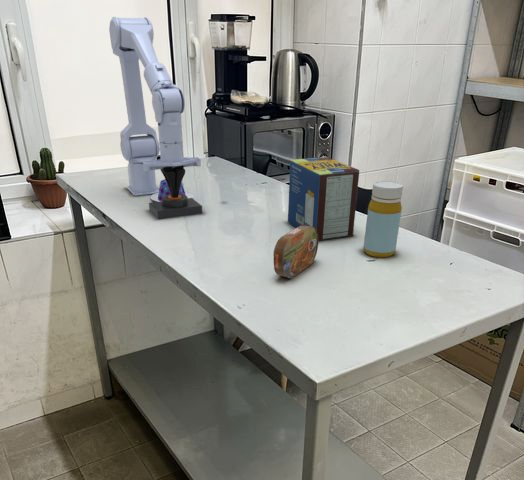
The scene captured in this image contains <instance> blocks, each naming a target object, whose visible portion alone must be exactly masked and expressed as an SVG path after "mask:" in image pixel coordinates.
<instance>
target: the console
mask: <svg viewBox="0 0 524 480" xmlns="http://www.w3.org/2000/svg"><path fill="white" fill-rule="evenodd" d="M169 195H171V194H169ZM169 195H165V196H163V197H162V201H160V202H157V201H152V202H148V210H149V212H150V213H151V214H152V215H153V216H154V217H155V218H156V219H157V220H165V219H173V218H181V217H188V216H195V215H203V205H201V203H199V202H198V201H197V200H195V199H194V198H188V197H187V196H186V195H182V194H179V195H181V196H182V198H181V199H177V200H171V199H168V196H169Z"/></svg>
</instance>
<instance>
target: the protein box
mask: <svg viewBox="0 0 524 480" xmlns="http://www.w3.org/2000/svg"><path fill="white" fill-rule="evenodd" d="M359 178H360V169H357V168H355V167H353V166H350V165H348V164H345V163H343V162H340V161H338V160H335V159H333V158H330V157H329V156H321V157H308V158H297V159H290V160H289V182H288V184H289V186H288V188H289V189H288V207H287V209H288V210H287V223H288V224H290V225H291V226H293V227H294V228H297V227H299V226H313V227H315V228H316V230H317V233H318V242H319V241H320V242H321V241H326V240H327V241H328V240H334V239H340V238H348V237H353V236H354V227H355V221H356V219H355V218H356V210H357V199H358V189H359V181H360V180H359Z"/></svg>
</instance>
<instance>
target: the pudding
mask: <svg viewBox="0 0 524 480" xmlns="http://www.w3.org/2000/svg"><path fill="white" fill-rule="evenodd" d="M158 189H159V193H155V194H151V196H150V199H151V200H152V201H153V202H160V201H162V197H163V196H165V195H169V194H171V193H170V189H169V186H168V184H167V181H166V179H165V178H164V179H162V180H160V183H159V186H158ZM179 194H182V195H186V196H187V197H188V198H192V199H194V195H193V194H192V193H190V192H187V191H185V188H184V185H183V182H181V185H180V189H179Z"/></svg>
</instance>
